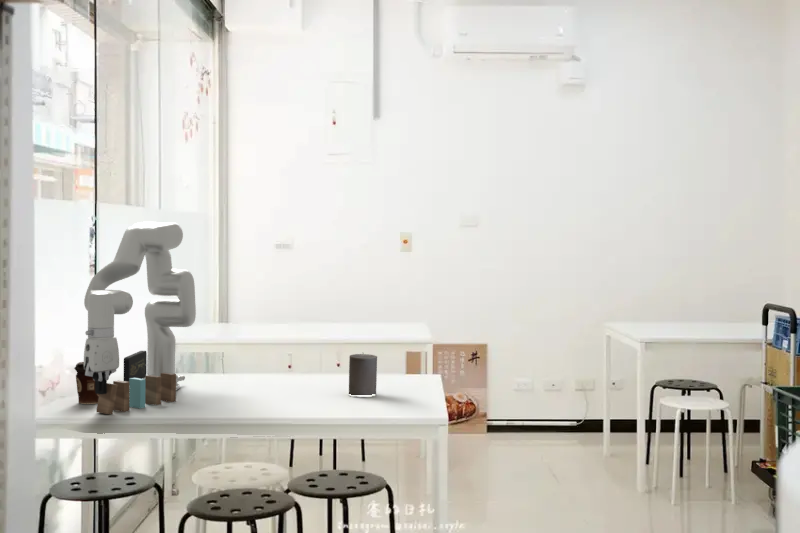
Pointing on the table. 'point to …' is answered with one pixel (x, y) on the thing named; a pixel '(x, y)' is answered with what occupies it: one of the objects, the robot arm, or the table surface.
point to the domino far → (107, 400)
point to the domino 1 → (122, 396)
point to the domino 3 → (153, 390)
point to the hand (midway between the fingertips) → (100, 393)
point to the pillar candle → (362, 374)
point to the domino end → (168, 387)
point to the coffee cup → (85, 386)
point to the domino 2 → (137, 393)
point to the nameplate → (135, 366)
